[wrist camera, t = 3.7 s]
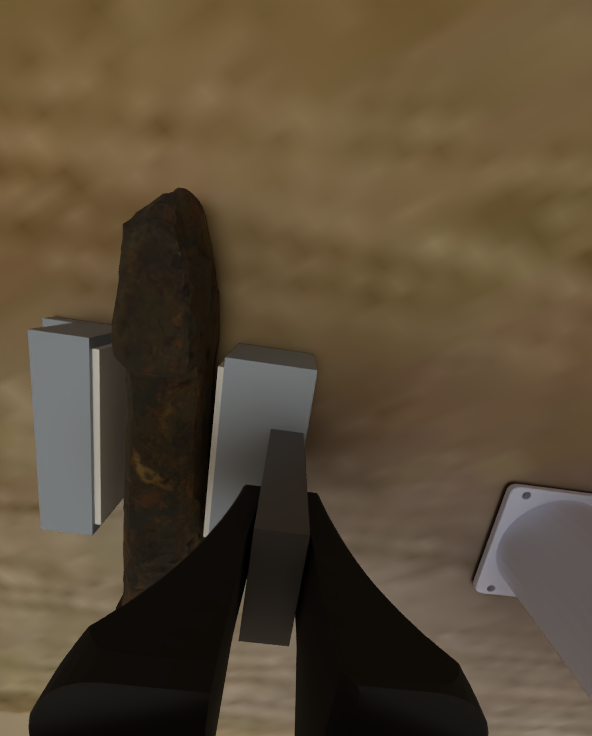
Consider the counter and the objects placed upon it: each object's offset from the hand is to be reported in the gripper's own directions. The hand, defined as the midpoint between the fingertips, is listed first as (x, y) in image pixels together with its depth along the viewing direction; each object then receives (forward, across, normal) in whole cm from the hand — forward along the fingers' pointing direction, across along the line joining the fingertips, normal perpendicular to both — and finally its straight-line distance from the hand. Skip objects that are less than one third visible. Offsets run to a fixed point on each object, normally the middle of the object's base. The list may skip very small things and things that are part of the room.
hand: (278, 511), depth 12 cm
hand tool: (+7, +6, 0) cm, 9 cm away
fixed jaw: (+6, +10, 0) cm, 12 cm away
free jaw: (+6, +1, 0) cm, 6 cm away
